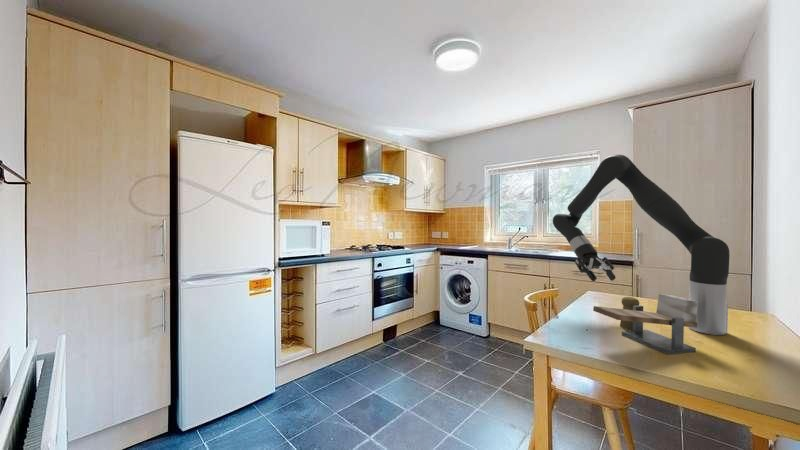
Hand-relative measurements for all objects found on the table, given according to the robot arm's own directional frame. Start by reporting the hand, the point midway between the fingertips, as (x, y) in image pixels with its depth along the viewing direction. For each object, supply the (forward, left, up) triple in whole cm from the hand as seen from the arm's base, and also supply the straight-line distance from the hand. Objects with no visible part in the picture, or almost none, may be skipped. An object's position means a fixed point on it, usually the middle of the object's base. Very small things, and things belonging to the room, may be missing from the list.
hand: (604, 279), depth 121 cm
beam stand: (+4, +24, -15) cm, 29 cm away
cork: (0, +11, -15) cm, 19 cm away
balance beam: (+9, +24, -7) cm, 27 cm away
